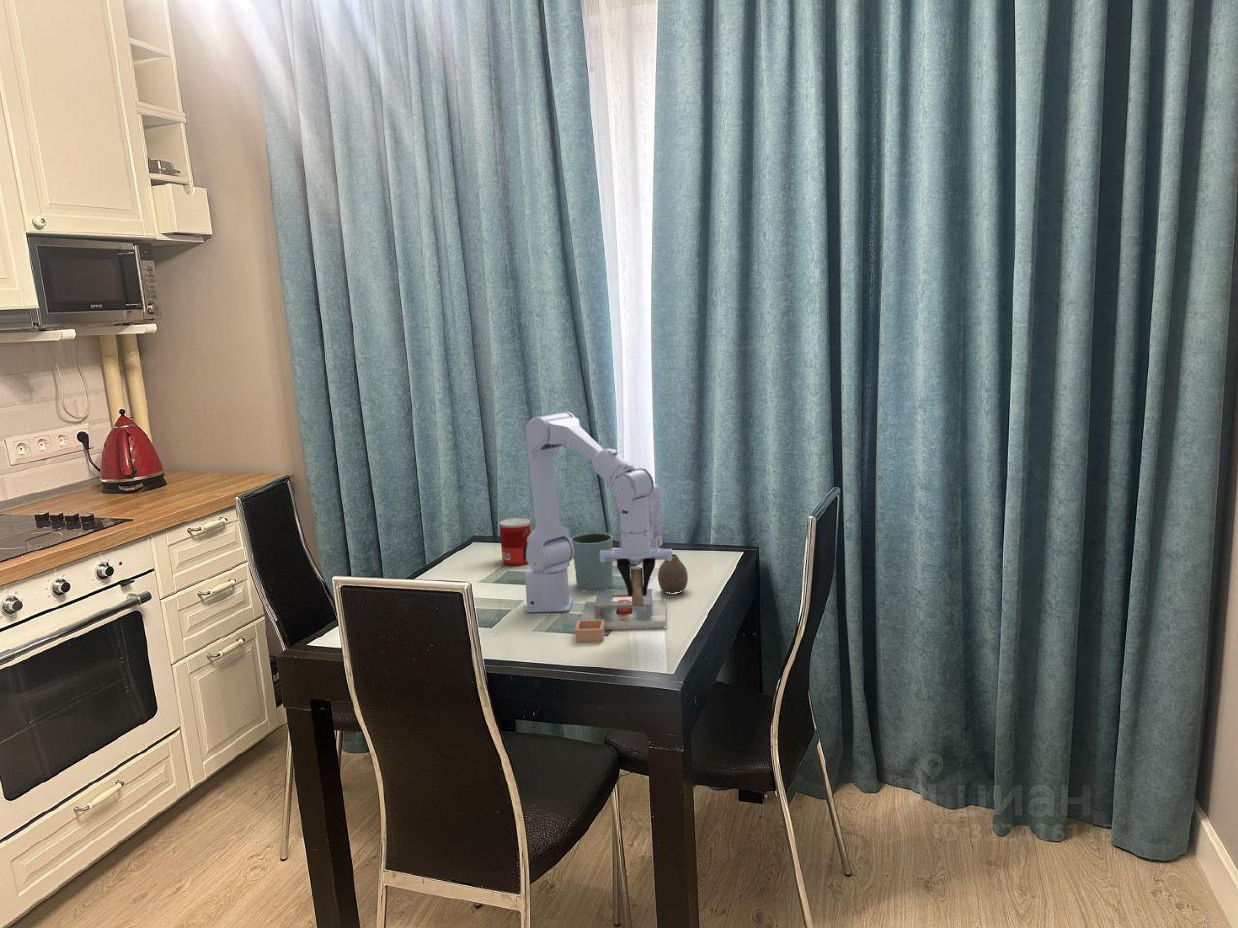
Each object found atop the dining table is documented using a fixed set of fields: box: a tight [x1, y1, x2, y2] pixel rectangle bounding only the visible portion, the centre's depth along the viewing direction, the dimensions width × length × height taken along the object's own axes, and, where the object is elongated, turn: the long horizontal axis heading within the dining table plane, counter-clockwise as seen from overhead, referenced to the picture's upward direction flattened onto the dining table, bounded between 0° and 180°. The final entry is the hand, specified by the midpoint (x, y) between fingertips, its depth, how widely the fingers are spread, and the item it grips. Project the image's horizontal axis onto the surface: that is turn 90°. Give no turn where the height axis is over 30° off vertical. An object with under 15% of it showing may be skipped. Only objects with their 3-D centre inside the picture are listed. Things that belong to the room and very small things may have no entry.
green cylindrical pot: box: [570, 531, 614, 592], centre depth 218 cm, size 10×10×12 cm
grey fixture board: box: [580, 588, 668, 631], centre depth 196 cm, size 18×13×4 cm
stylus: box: [630, 566, 644, 606], centre depth 185 cm, size 2×2×8 cm
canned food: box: [499, 517, 532, 567], centre depth 240 cm, size 8×8×11 cm
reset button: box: [617, 599, 631, 614], centre depth 196 cm, size 3×3×2 cm
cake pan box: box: [616, 484, 664, 566], centre depth 240 cm, size 19×5×18 cm, turn 154°
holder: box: [574, 619, 606, 643], centre depth 187 cm, size 6×6×2 cm
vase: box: [657, 553, 689, 593], centre depth 211 cm, size 7×7×9 cm
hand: (637, 594), depth 186 cm, fingers closed on stylus, 2 cm apart
